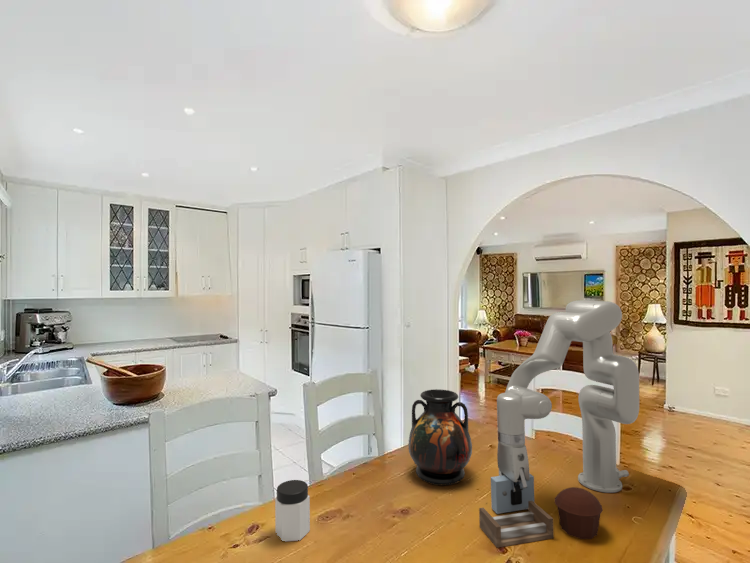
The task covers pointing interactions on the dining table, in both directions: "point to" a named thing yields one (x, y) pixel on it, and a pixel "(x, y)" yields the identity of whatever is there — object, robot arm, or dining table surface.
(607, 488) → the robot arm
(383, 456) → the dining table surface
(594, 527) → the muffin
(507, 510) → the door panel
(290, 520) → the jar
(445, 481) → the amphora vase
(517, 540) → the wooden rack
